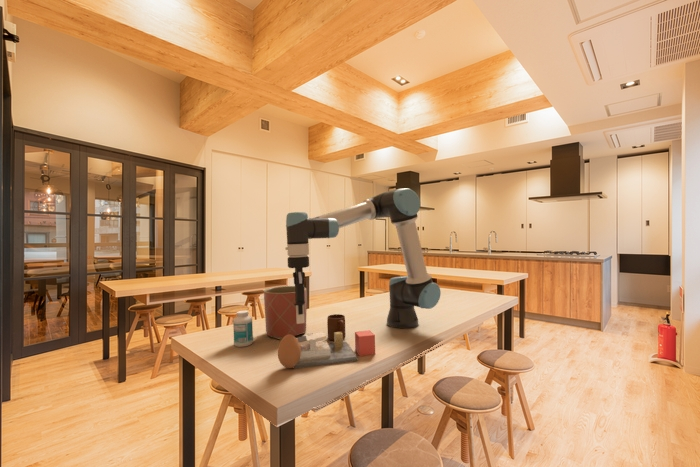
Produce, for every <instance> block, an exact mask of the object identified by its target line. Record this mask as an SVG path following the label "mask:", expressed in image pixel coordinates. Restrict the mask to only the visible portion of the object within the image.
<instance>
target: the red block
mask: <svg viewBox="0 0 700 467" xmlns="http://www.w3.org/2000/svg"><path fill="white" fill-rule="evenodd" d="M354 344H355V345H354V349H355V350H354V351H356V352H355V353H356V354H358V356H361V357H362V356H369V355H370V356H371V355H376V335H375V334H374V332H372V331H371V329H370V330H361V331H360V330H358V331H354Z"/></svg>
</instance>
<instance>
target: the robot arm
mask: <svg viewBox="0 0 700 467" xmlns="http://www.w3.org/2000/svg"><path fill="white" fill-rule="evenodd" d="M420 208H421V200H420V197H419V194H417V193H416V192H415V191H414V190H413V189H411V188H408V187H407V188H398V189H393V190H390V191H389V190H388V191H385V192H382V193H379V194H377V195H374V196H373V197H370V198H367V199H366V198H365V199H364V200H363V201H362V203H358V204H354V205H350V206H348V207H344V208H341V209H338V210H335V211H332V212H331V211H330V212H329V213H326V214H322V215H321V214H320V215H318V216H316V217H315V216H314V217H311V218H310V217H309V215H308V213H307V212H306V211H305V212H303V211H295V212H289V213H287V214H286V217H285V218H286V220H285V228H286V244H287V245H286V247H285V250H286V252H287V267H288V268H289V269H294V272H292V277H293V285H294V286H295V301H296V303H294V305H296V321H297V324H300V323H305V320H304V303H305V301H304V287H305V278H306V272H305V271H304V270H303V268H305V269H306V268H308V267H310V257H309V256H308V255H310V246H309V245H310V242H309V240H313V239H314V240H315V239H332V238H336V237H338V235H339V232H340V229H341V228H344V227H348V226H351V225H354V224H357V223H360V222H363V221H365V220H369V221H372V220H375V219H382V218H383V219H384V218H389V219H390V223H391V224H392V225H394V226H395V229H396V232H397V236H398V240H399V244H400V249H401V252H402V257H403V261H404V265H405V266H404V267H405V269H406V274H407V275H405V276H395V277H391V278H390V279H389V285H388V288H389V289H388V290H389V310H388V314H387V317H386V325H387V326H389V327H391V328H396V329H410V328H411V329H412V328H414V327H415V328H416V327H418V325H419V318H418V316H417V311H416V309H415V307H418V308H421V309H428V310H429V309H433V308H434V307H436V306H437V305H438V303H439V301H440V300H441V299H440V298H441V287H440V286H439V284H438V283H436V282H433V278H432V275H431V274H430V273H428V271H427V267H426V263H425V262H426V261H425V259H424V253H423V250H422V245H421V241H420V237H419V231H418V228H417V225H416V220H417V219H418V213H419V211H420Z"/></svg>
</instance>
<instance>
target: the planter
mask: <svg viewBox="0 0 700 467" xmlns="http://www.w3.org/2000/svg"><path fill="white" fill-rule="evenodd" d="M307 289H308V288H306V287H305V286H304V301H305V303H304V320H305V323H300V324H297V321H296V305H294V303H296V301H295V285H288V286H287V285H286V286H285V285H284V286H275V287H270V288H265V290H263V300H264V301H263V302H264V305H263V306H264V318H265V320H264V321H265V334H266V335H267V336H268V337H271V338H274V339H277V340H280V341H281V340H282V339H283V337H284V336H286V335H289V334H290V335H293V336H295V337H296V336H299V335H301V334H307V333H306V332H307V303H308V301H307V296H308V295H307V294H308V293H307Z"/></svg>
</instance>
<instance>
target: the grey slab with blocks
mask: <svg viewBox="0 0 700 467" xmlns="http://www.w3.org/2000/svg"><path fill="white" fill-rule="evenodd" d="M313 334H314V333H307V336H309V335H313ZM300 347H301V356H300V359H299V361H298V363H297V364H296V365H295V366H294V367H292V369H301V368H308V367H309V368H310V367H317V366H326V365H327V366H328V365H333V364H341V363H342V362H343V363H348V362H350V361H351V362H357V361H358V355H357V353H356V352H354V351H355V350H353V349H352V347H351V346H350V345H349V343H348V342H347V341H344V339H343V333H342V332H334V341H333V342H331V343H328V342H327V340H326V341H325V340H324V341H318V342H316V339H310V344H305V345H301V346H300ZM343 363H342V364H343Z"/></svg>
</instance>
